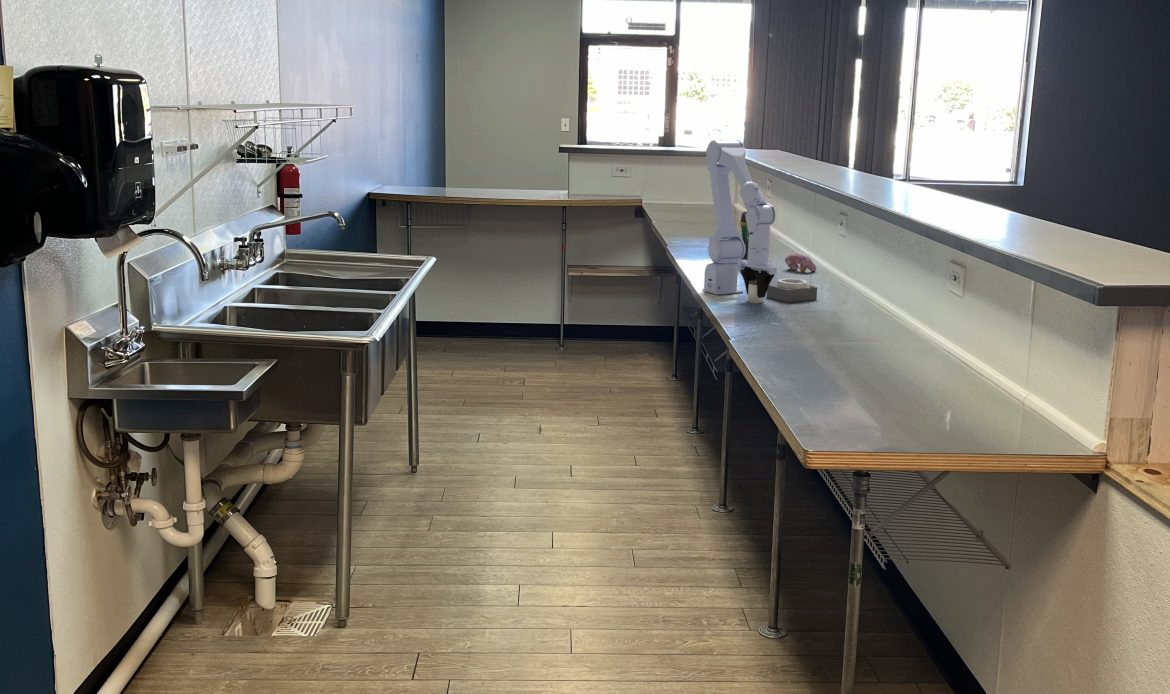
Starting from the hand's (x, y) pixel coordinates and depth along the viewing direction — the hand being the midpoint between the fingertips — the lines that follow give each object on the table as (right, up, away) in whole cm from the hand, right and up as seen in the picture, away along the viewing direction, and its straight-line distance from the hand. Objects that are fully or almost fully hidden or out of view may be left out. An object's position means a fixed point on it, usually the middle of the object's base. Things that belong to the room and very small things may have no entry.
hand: (755, 295), depth 292 cm
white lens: (0, -2, 0) cm, 2 cm away
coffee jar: (+9, +13, +63) cm, 65 cm away
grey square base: (+11, 0, +7) cm, 13 cm away
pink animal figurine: (+24, +11, +54) cm, 59 cm away
